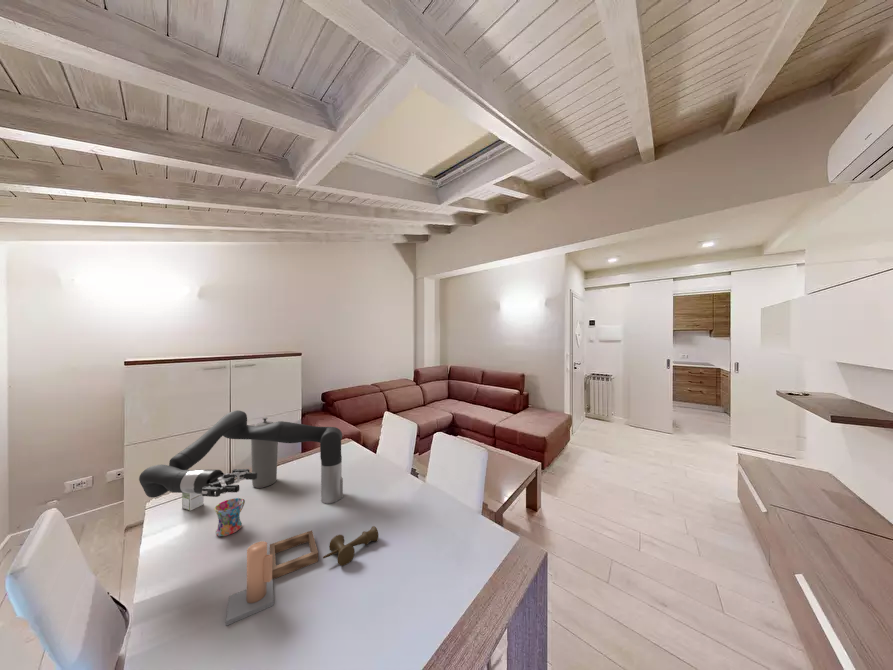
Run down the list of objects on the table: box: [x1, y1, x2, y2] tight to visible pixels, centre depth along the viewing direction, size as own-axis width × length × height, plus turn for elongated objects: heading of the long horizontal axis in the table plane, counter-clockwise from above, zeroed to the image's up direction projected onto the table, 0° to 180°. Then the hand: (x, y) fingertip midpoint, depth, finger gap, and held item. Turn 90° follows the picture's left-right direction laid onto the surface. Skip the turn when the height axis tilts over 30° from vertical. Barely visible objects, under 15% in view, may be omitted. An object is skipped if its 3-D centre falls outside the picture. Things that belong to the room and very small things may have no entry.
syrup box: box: [181, 493, 205, 512], centre depth 132 cm, size 6×6×14 cm
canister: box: [250, 417, 279, 489], centre depth 153 cm, size 13×13×35 cm
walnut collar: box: [269, 529, 319, 580], centre depth 101 cm, size 14×14×3 cm
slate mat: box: [225, 579, 275, 626], centre depth 84 cm, size 11×9×1 cm
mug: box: [214, 497, 246, 537], centre depth 117 cm, size 12×9×11 cm
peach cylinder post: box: [245, 541, 273, 603], centre depth 85 cm, size 7×5×14 cm
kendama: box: [322, 525, 379, 567], centre depth 104 cm, size 6×10×20 cm
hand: (248, 482), depth 98 cm, fingers open, 8 cm apart
